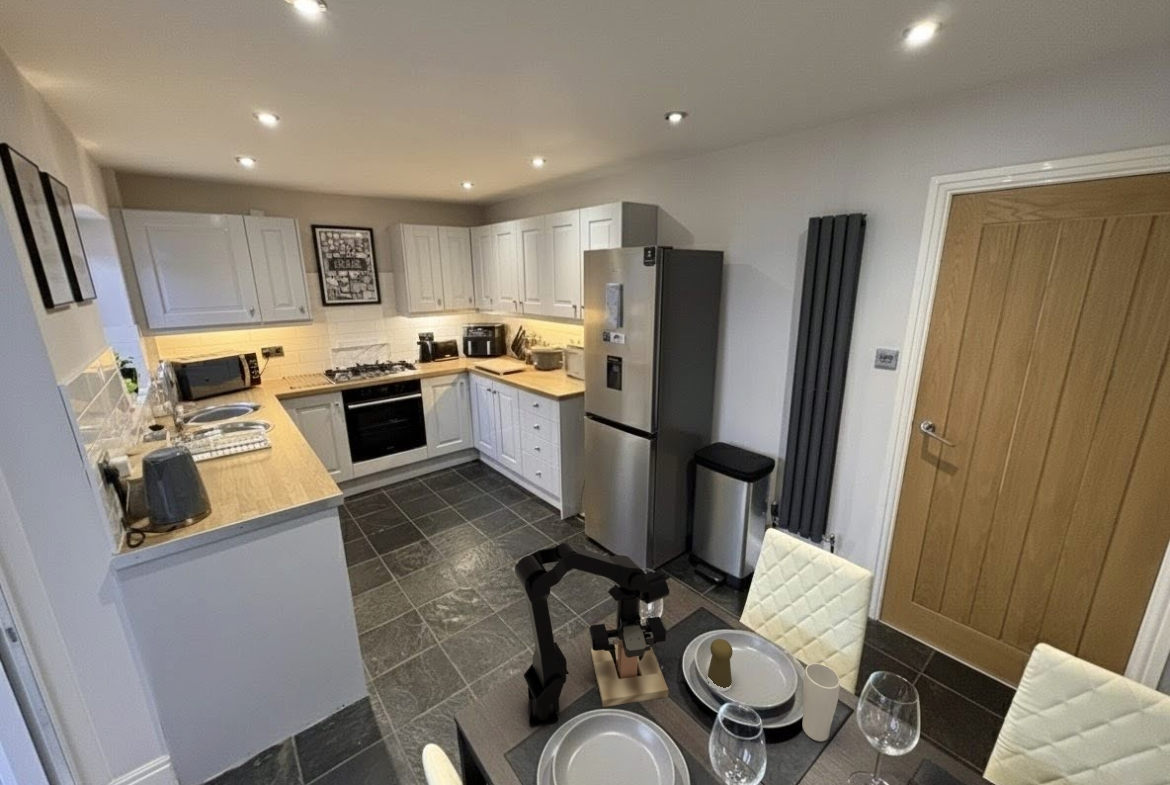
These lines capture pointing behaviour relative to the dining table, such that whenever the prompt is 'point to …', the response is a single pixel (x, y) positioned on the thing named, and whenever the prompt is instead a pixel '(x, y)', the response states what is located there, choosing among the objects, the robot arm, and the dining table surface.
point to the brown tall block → (626, 663)
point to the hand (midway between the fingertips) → (627, 661)
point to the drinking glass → (819, 700)
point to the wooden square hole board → (628, 679)
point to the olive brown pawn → (720, 663)
